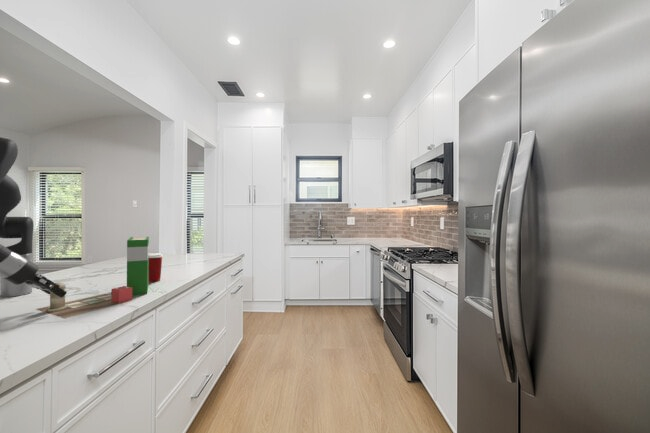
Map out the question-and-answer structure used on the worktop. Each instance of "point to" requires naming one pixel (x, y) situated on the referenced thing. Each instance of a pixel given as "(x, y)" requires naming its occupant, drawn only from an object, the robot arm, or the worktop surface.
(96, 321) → the worktop surface
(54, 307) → the birch pawn
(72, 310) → the game board
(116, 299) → the red die
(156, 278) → the paper cup
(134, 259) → the hardback book
